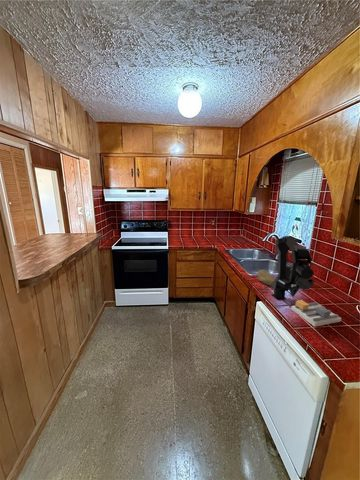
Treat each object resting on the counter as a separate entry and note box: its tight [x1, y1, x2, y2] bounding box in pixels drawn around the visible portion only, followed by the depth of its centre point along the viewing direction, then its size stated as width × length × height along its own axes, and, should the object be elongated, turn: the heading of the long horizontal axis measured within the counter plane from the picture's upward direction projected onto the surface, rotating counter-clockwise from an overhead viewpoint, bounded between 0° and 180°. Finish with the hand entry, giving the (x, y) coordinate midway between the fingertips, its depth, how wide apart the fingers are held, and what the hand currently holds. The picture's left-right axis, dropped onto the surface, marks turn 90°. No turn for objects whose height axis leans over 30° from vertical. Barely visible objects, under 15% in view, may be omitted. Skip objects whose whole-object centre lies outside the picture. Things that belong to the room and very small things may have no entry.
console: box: [290, 301, 342, 328], centre depth 113 cm, size 16×18×3 cm
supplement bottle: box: [286, 264, 292, 277], centre depth 154 cm, size 7×7×12 cm
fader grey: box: [316, 305, 332, 317], centre depth 108 cm, size 5×4×4 cm
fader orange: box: [295, 299, 309, 310], centre depth 114 cm, size 5×4×4 cm
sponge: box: [257, 269, 275, 287], centre depth 152 cm, size 13×8×20 cm
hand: (292, 296), depth 111 cm, fingers closed
